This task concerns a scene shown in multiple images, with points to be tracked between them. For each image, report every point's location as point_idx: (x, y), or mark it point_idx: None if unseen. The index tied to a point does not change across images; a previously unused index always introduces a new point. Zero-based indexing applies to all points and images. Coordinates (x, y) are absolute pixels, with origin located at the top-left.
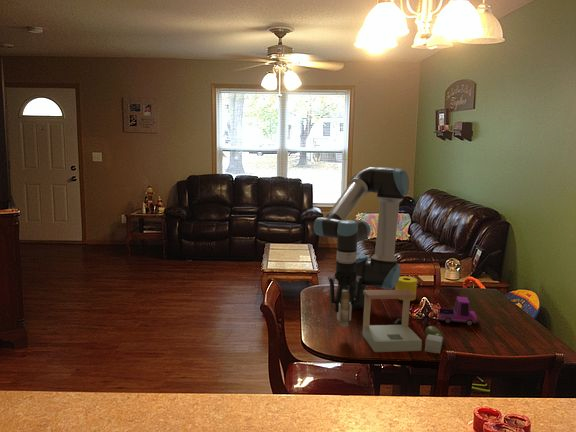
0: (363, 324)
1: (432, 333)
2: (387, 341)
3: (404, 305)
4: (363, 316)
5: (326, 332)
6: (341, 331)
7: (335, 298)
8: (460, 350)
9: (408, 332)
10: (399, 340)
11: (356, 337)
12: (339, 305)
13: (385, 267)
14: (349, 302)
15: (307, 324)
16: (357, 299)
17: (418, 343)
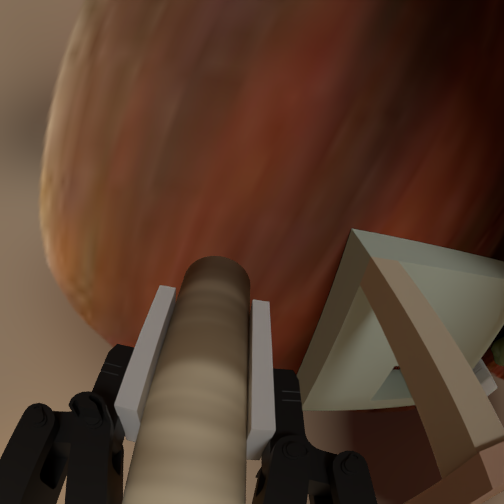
0: (371, 271)
1: None
2: (347, 409)
3: None
4: (395, 293)
5: (155, 141)
6: (257, 144)
7: (74, 450)
8: (499, 370)
9: (473, 352)
10: (392, 404)
11: (304, 247)
12: (132, 436)
13: None
14: (263, 436)
15: (90, 13)
16: (322, 500)
17: None
